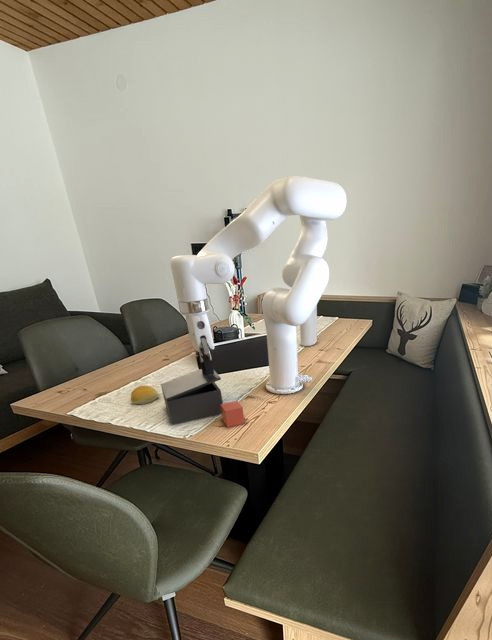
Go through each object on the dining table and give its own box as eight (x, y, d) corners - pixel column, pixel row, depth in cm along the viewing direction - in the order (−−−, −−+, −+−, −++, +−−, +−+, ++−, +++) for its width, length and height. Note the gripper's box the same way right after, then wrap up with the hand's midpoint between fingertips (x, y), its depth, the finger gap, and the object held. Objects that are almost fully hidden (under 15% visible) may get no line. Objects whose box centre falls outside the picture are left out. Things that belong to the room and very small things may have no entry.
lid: (210, 367, 111) (205, 351, 108) (221, 379, 101) (215, 363, 98) (161, 386, 107) (153, 371, 104) (167, 401, 97) (159, 384, 94)
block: (239, 416, 104) (237, 400, 102) (244, 423, 100) (242, 407, 98) (222, 420, 102) (220, 404, 100) (227, 427, 98) (224, 411, 96)
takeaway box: (214, 398, 116) (210, 377, 112) (224, 413, 106) (220, 390, 103) (166, 408, 111) (161, 386, 107) (172, 424, 101) (166, 401, 97)
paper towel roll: (299, 346, 163) (298, 296, 152) (301, 342, 168) (300, 294, 157) (315, 346, 162) (315, 296, 151) (316, 342, 167) (316, 294, 156)
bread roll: (131, 407, 112) (128, 395, 110) (132, 396, 120) (129, 385, 118) (158, 402, 115) (156, 390, 113) (158, 392, 122) (155, 381, 120)
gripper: (215, 310, 90) (226, 377, 99) (200, 300, 103) (211, 360, 113) (185, 314, 87) (199, 383, 97) (174, 303, 101) (187, 365, 110)
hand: (206, 370), depth 104 cm, fingers closed on lid, 5 cm apart
